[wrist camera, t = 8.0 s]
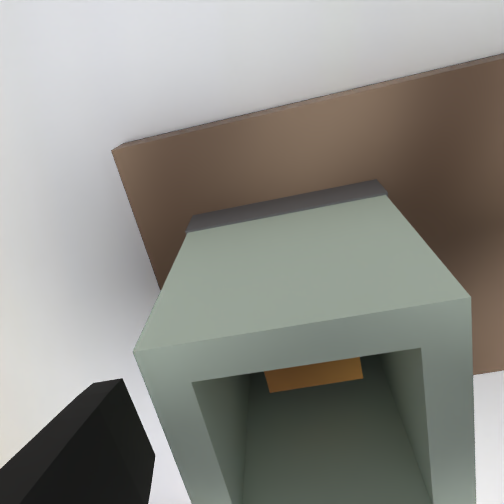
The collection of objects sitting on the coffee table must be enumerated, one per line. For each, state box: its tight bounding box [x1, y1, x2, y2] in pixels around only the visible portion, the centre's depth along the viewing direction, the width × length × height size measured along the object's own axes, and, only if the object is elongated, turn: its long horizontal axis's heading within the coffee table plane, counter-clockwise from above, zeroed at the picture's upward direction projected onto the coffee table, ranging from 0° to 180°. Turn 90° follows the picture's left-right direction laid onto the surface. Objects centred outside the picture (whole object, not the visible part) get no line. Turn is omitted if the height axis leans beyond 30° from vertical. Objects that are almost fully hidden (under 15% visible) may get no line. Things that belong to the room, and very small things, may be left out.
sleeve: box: [133, 179, 476, 504], centre depth 10 cm, size 5×5×6 cm
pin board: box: [111, 54, 504, 393], centre depth 11 cm, size 16×9×4 cm, turn 103°
